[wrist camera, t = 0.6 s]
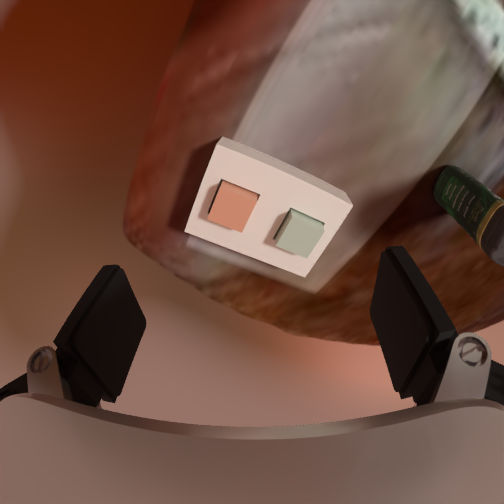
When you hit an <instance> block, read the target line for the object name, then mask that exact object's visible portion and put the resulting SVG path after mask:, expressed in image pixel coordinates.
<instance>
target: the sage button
mask: <svg viewBox="0 0 504 504" xmlns="http://www.w3.org/2000/svg"><path fill="white" fill-rule="evenodd" d="M324 232H325V230H324V227H323V224H322V222H321V221H319V220H317V219H315V218H313V217H310V216H308V215H306V214H304V213H302V212H299V211H297V210H295V209H293V208H290V209H289V211H288V212H287V214H286V216H285V218H284V220H283V221H282V223H281V225H280V227H279V229H278V230H277V232H276V234H275V245H276V246H277V247H279V248H282V249H284V250H287V251H289V252H292V253H294V254H297V255H299V256H302V257H304V258H308V256H309V255H310V253H311V252H312V250H313V249H314V247H315V246H316V244H317V243H318V241H319V240H320V238H321V237H322V235H323V233H324Z"/></svg>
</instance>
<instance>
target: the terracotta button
mask: <svg viewBox="0 0 504 504" xmlns="http://www.w3.org/2000/svg"><path fill="white" fill-rule="evenodd" d="M257 196H258V193H255V192H253V191H250V190H248V189H245V188H243V187H241V186H238V185H236V184H233V183H231V182H228V181H226V180H223V181H222V183H221V186H220V188H219V191H218V193H217V196H216V198H215V201H214V203H213V206H212V208H211V211H210V213H209V216H208V218H207V219H208V220H210V221H213V222H215V223H218V224H220V225H223V226H226V227H228V228H231V229H233V230H236V231H238V232H241V233H242V232H243V230H244V228H245V225H246V223H247V221H248V219H249V217H250V215H251V213H252V211H253V209H254V207H255V205H256V203H257Z"/></svg>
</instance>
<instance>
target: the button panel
mask: <svg viewBox="0 0 504 504" xmlns="http://www.w3.org/2000/svg"><path fill="white" fill-rule="evenodd" d="M223 180H226V181H228V182H231V183H233V184H236V185H238V186H241V187H243V188H245V189H248V190H250V191H253V192H255V193H258V196H257V203H256V205H255V207H254V209H253V211H252V213H251V215H250V217H249V219H248V221H247V223H246V225H245V228H244V230H243V232H242V233H241V232H238V231H236V230H233V229H231V228H228V227H226V226H223V225H220V224H218V223H215V222H213V221H210V220H208V219H207V218H208V216H209V213H210V211H211V208H212V206H213V203H214V201H215V198H216V196H217V193H218V191H219V188H220V186H221V183H222V181H223ZM352 207H353V204H352V203H351V201H350V200H349V198H348V196H347V195H346V193H345V192H344V191H342V190H340V189H338V188H336V187H334V186H333V185H331V184H329V183H327V182H325V181H323V180H321V179H319V178H317V177H315V176H313V175H310V174H308V173H306V172H304V171H302V170H300V169H298V168H296V167H294V166H291V165H289V164H287V163H285V162H283V161H281V160H278V159H276V158H274V157H272V156H269V155H267V154H265V153H262V152H260V151H258V150H255V149H253V148H250V147H248V146H246V145H243V144H241V143H238V142H236V141H233V140H231V139H228V138H225V137H222V138H221V139H220V140H219V142H218V143H217V144H216V147H215V149H214V152H213V154H212V157H211V159H210V162H209V165H208V167H207V170H206V172H205V175H204V178H203V180H202V183H201V186H200V188H199V191H198V194H197V197H196V200H195V202H194V205H193V208H192V211H191V214H190V217H189V220H188V223H187V225H186V228H185V231H184V232H187V233H189V234H192V235H195V236H197V237H200V238H202V239H205V240H208V241H210V242H213V243H216V244H218V245H221V246H223V247H226V248H229V249H231V250H234V251H237V252H239V253H242V254H245V255H247V256H250V257H252V258H255V259H258V260H260V261H263V262H266V263H268V264H271V265H274V266H276V267H279V268H282V269H284V270H287V271H290V272H292V273H295V274H298V275H300V276H303V277H306V275H307V274H308V272H309V271H310V270H311V268H312V267H313V265H314V264H315V262H316V261H317V259H318V258H319V257H320V255H321V254H322V252H323V251H324V249H325V248H326V246H327V245H328V243H329V242H330V240H331V239H332V237H333V236H334V234H335V233H336V231H337V230H338V228H339V227H340V225H341V224H342V222H343V221H344V219H345V218H346V216H347V215H348V213H349V212H350V210H351V209H352ZM290 208H293V209H295V210H297V211H299V212H302V213H304V214H306V215H308V216H310V217H313V218H315V219H317V220H319V221H321V222H322V224H323V227H324V230H325V232H324V233H323V235H322V237H321V238H320V240H319V241H318V243H317V244H316V246H315V247H314V249H313V250H312V252H311V253H310V255H309V256H308V258H304V257H302V256H299V255H297V254H294V253H292V252H289V251H287V250H284V249H282V248H279V247H277V246H276V245H275V234H276V232H277V230H278V229H279V227H280V225H281V223H282V221H283V220H284V218H285V216H286V214H287V212H288V211H289V209H290Z"/></svg>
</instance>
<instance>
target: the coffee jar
mask: <svg viewBox="0 0 504 504" xmlns="http://www.w3.org/2000/svg"><path fill="white" fill-rule="evenodd" d="M434 198H435V200H436V201H437V202H438V203H439V204H440V205H441V206H442V207H443V208H444V209H445V210H446V211H447V212H448V213H449V214H450V215H451V216H452V217H453V218H454V219H455V220H456V221H457V222H458V223H459V224H460V225H461V226H462V227H463V229H464V230H465V231H466V232H467V233H468V234H469V235H470V236H471V237H472V238H473V239H474V241H475V242H476V243H477V244H478V245H479V246H480V248H481V249H482V250H483V251H484V252H485V253H486V254H487V255H488V256H489V257H490V258H491V259H492V260H493V261H494V262H496V263H497V264H499V265H502V266H504V200H502V199H501V198H500V197H499V196H497V195H496V194H495V193H494V192H492V191H491V190H490V189H488V188H487V187H486V186H484V185H483V184H482V183H480V182H479V181H477V180H476V179H475V178H473V177H472V176H471V175H469V174H468V173H466V172H465V171H463V170H462V169H460V168H458V167H456V166H448V167H446V168H445V169H444V170H443V171H442V172H441V174H440V175H439V177H438V179H437V181H436V184H435V187H434Z"/></svg>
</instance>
